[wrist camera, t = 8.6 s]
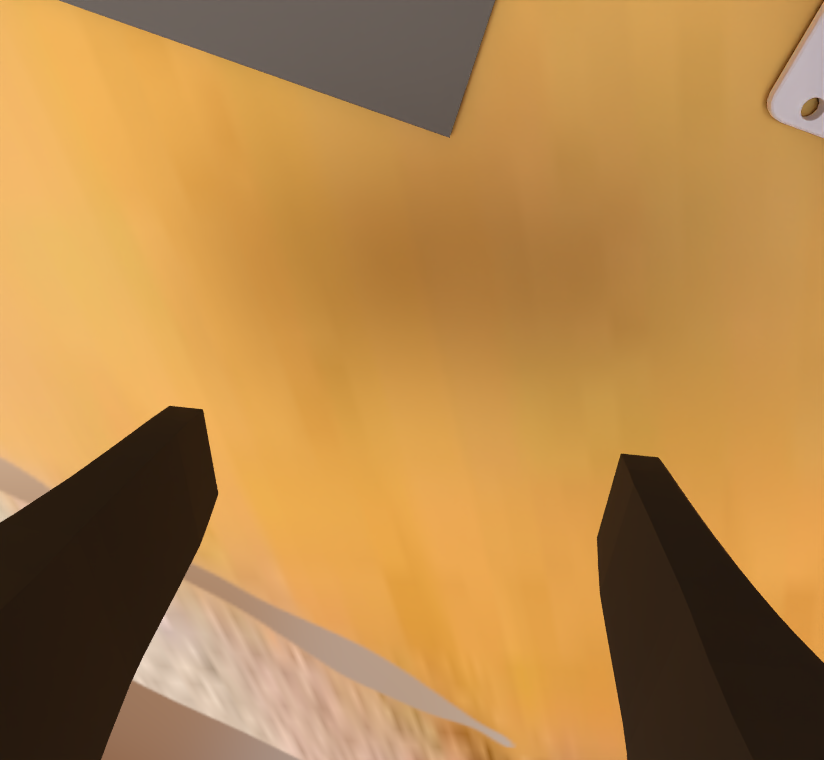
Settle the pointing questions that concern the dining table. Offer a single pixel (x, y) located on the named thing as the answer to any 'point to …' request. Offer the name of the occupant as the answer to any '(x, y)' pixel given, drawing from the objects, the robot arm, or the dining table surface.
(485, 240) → the dining table surface
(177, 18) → the mat
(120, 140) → the dining table surface
